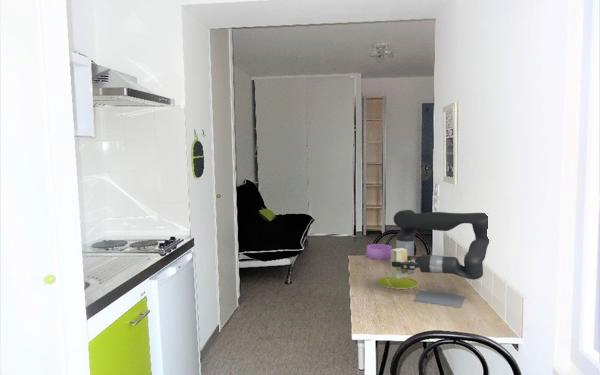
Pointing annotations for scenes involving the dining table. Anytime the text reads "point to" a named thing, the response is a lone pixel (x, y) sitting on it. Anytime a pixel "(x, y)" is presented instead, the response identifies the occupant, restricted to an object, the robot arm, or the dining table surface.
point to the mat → (440, 298)
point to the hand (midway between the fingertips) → (394, 261)
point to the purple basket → (379, 251)
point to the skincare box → (398, 256)
